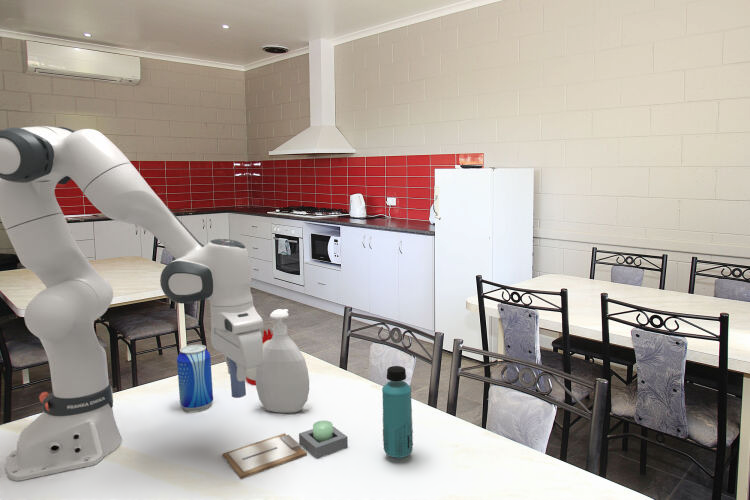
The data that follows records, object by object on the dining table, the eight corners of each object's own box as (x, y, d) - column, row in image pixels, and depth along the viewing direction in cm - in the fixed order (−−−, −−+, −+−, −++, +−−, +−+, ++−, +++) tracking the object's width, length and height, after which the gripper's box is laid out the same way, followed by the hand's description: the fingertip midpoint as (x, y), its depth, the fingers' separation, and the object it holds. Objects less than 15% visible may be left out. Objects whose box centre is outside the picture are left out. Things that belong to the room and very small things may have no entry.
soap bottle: (315, 403, 142) (312, 305, 138) (305, 417, 134) (301, 313, 130) (264, 400, 145) (259, 304, 141) (252, 413, 137) (246, 311, 133)
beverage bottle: (411, 466, 111) (410, 374, 108) (380, 463, 112) (378, 372, 109) (415, 450, 117) (414, 363, 114) (385, 447, 118) (384, 361, 116)
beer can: (217, 407, 141) (213, 349, 139) (185, 415, 136) (180, 356, 134) (208, 396, 148) (204, 341, 146) (176, 404, 143) (172, 347, 141)
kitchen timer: (301, 376, 162) (299, 329, 159) (263, 390, 152) (261, 339, 150) (274, 366, 171) (272, 321, 169) (237, 378, 161) (234, 330, 159)
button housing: (316, 458, 114) (316, 447, 114) (299, 443, 121) (298, 433, 120) (347, 447, 119) (347, 436, 119) (329, 433, 125) (329, 423, 125)
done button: (319, 447, 117) (318, 431, 116) (309, 439, 120) (309, 424, 120) (336, 441, 119) (336, 425, 119) (326, 433, 123) (326, 418, 122)
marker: (234, 399, 113) (231, 354, 112) (229, 394, 116) (225, 350, 114) (248, 395, 115) (245, 351, 114) (242, 390, 118) (239, 347, 116)
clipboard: (241, 478, 107) (240, 472, 107) (222, 456, 116) (222, 450, 116) (306, 455, 116) (306, 449, 116) (284, 435, 125) (284, 430, 125)
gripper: (201, 308, 119) (206, 367, 121) (236, 328, 103) (241, 395, 105) (228, 303, 123) (232, 361, 125) (266, 321, 107) (270, 387, 108)
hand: (237, 377), depth 115 cm, fingers closed on marker, 3 cm apart
